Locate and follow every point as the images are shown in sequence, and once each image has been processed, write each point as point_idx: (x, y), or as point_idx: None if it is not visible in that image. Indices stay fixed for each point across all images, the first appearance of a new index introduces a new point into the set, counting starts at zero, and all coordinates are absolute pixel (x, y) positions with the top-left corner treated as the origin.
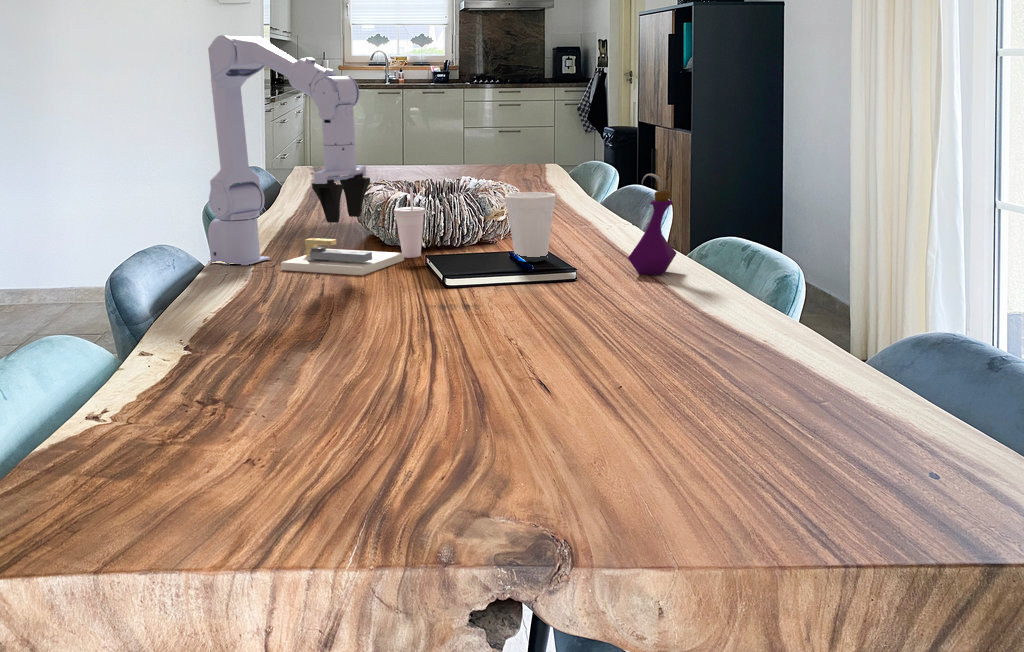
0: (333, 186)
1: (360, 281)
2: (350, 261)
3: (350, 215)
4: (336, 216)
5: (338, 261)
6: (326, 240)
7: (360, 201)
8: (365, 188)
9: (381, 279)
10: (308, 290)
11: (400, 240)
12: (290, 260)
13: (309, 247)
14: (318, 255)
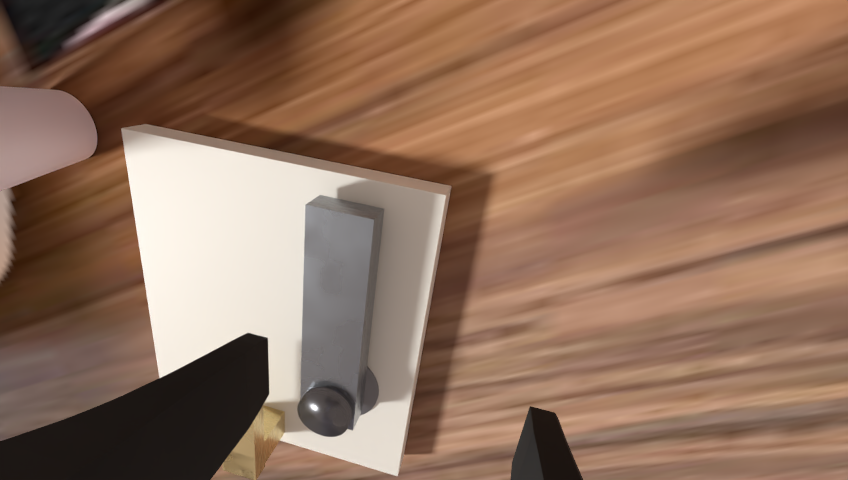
0: None
1: (577, 150)
2: None
3: (263, 391)
4: (567, 449)
5: None
6: None
7: (183, 399)
8: (5, 461)
9: (528, 69)
10: (771, 297)
11: (34, 173)
12: (362, 458)
13: (269, 446)
14: (359, 393)
